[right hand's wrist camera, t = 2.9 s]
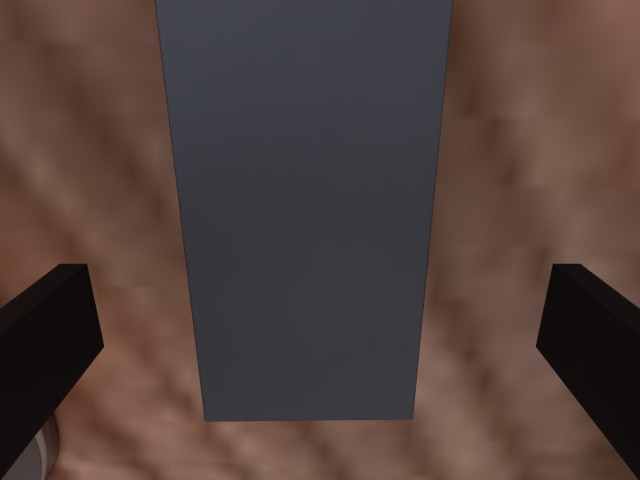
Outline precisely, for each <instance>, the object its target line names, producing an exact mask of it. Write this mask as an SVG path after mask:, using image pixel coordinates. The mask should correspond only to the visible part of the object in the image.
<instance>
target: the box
mask: <svg viewBox="0 0 640 480" xmlns="http://www.w3.org/2000/svg"><path fill="white" fill-rule="evenodd" d="M452 7H453V0H155V9H156V17H157V25H158V34H159V42H160V50H161V59H162V67H163V76H164V84H165V92H166V101H167V109H168V117H169V126H170V134H171V142H172V151H173V159H174V167H175V176H176V184H177V193H178V201H179V209H180V218H181V226H182V234H183V243H184V251H185V259H186V268H187V276H188V284H189V293H190V301H191V310H192V318H193V326H194V335H195V343H196V351H197V360H198V368H199V376H200V385H201V393H202V401H203V410H204V418H205V421H206V422H212V421H313V420H411V419H413V412H414V401H415V391H416V381H417V370H418V360H419V349H420V339H421V329H422V318H423V308H424V298H425V287H426V277H427V266H428V256H429V246H430V235H431V225H432V215H433V204H434V194H435V183H436V173H437V163H438V152H439V142H440V132H441V121H442V111H443V100H444V90H445V80H446V69H447V59H448V48H449V38H450V28H451V17H452Z"/></svg>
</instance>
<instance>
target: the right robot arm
mask: <svg viewBox="0 0 640 480" xmlns="http://www.w3.org/2000/svg"><path fill="white" fill-rule="evenodd" d="M103 347H104V343H103V338H102V334H101V329H100V324H99V319H98V314H97V310H96V305H95V300H94V295H93V290H92V286H91V281H90V276H89V271H88V266H87V264H59V265H58V266H56V267H55V268H54V269H52V270H51V271H50V272H48V273H47V274H46V275H44V276H43V277H42V278H40V279H39V280H38V281H36V282H35V283H34V284H32V285H31V286H30V287H28V288H27V289H26V290H24V291H23V292H22V293H21V294H19V295H18V296H17V297H15V298H14V299H13V300H11V301H10V302H9V303H7V304H6V305H5V306H3V307H2V308H1V309H0V480H47V479H48V477H49V475H50V474H51V472H52V470H53V468H54V466H55V462H56V459H57V454H58V434H57V429H56V425H55V421H54V419H53V416H52V414H53V412H54V411H55V410H56V408H57V407H58V406H59V404H60V403H61V402H62V401H63V399H64V398H65V397H66V395H67V394H68V393H69V392H70V390H71V389H72V388H73V386H74V385H75V384H76V382H77V381H78V380H79V379H80V377H81V376H82V375H83V373H84V372H85V371H86V369H87V368H88V367H89V366H90V364H91V363H92V362H93V360H94V359H95V358H96V357H97V355H98V354H99V353H100V351H101V350H102V349H103ZM536 347H537V349H538V350H539V351H540V353H541V354H542V355H543V357H544V358H545V359H546V360H547V362H548V363H549V364H550V366H551V367H552V368H553V369H554V371H555V372H556V373H557V375H558V376H559V377H560V379H561V380H562V381H563V382H564V384H565V385H566V386H567V388H568V389H569V390H570V392H571V393H572V394H573V395H574V397H575V398H576V399H577V401H578V402H579V403H580V404H581V406H582V407H583V408H584V410H585V411H586V412H587V414H588V415H589V416H590V417H591V419H592V420H593V421H594V423H595V424H596V425H597V426H598V428H599V429H600V430H601V432H602V433H603V434H604V436H605V437H606V438H607V439H608V441H609V442H610V443H611V445H612V446H613V447H614V449H615V450H616V451H617V452H618V454H619V455H620V456H621V458H622V459H623V460H624V461H625V463H626V464H627V465H628V467H629V468H630V469H631V471H632V472H633V473H634V474H635V476H636V477H637V478H638V480H640V309H639V308H638V307H637V306H635V305H634V304H633V303H631V302H630V301H629V300H627V299H626V298H625V297H623V296H622V295H621V294H619V293H618V292H617V291H616V290H614V289H613V288H612V287H610V286H609V285H608V284H606V283H605V282H604V281H602V280H601V279H600V278H598V277H597V276H596V275H594V274H593V273H592V272H590V271H589V270H588V269H586V268H585V267H584V266H582V265H581V264H553V266H552V271H551V276H550V281H549V286H548V290H547V295H546V300H545V305H544V310H543V314H542V319H541V324H540V329H539V334H538V338H537V343H536Z"/></svg>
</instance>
